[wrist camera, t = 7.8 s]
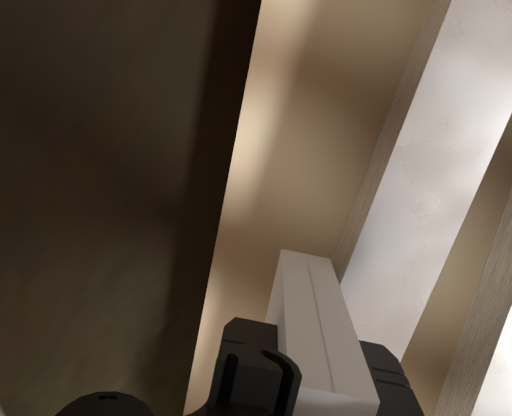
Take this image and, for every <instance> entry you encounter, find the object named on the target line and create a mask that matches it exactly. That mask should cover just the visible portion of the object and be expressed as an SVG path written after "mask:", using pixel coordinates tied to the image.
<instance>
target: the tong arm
mask: <svg viewBox="0 0 512 416" xmlns="http://www.w3.org/2000/svg"><path fill="white" fill-rule="evenodd" d="M511 113H512V0H431V1H430V3H429V6H428V9H427V11H426V14H425V16H424V19H423V22H422V24H421V27H420V30H419V32H418V35H417V37H416V40H415V43H414V45H413V48H412V51H411V53H410V56H409V58H408V61H407V64H406V66H405V69H404V72H403V74H402V77H401V79H400V82H399V85H398V87H397V90H396V93H395V95H394V98H393V100H392V103H391V106H390V108H389V111H388V114H387V116H386V119H385V121H384V124H383V127H382V129H381V132H380V135H379V137H378V140H377V142H376V145H375V148H374V150H373V153H372V156H371V158H370V161H369V163H368V166H367V169H366V171H365V174H364V177H363V179H362V182H361V184H360V187H359V190H358V192H357V195H356V198H355V200H354V203H353V205H352V208H351V211H350V213H349V216H348V219H347V221H346V224H345V226H344V229H343V232H342V234H341V237H340V240H339V242H338V245H337V247H336V250H335V253H334V255H333V258H332V261H331V263H332V266H333V269H334V272H335V274H336V277H337V280H338V283H339V286H340V289H341V292H342V294H343V297H344V300H345V303H346V306H347V309H348V312H349V314H350V317H351V320H352V323H353V326H354V329H355V332H356V334H357V337H358V340H361V341H366V342H371V343H376V344H381V345H384V346H385V347H386V348H387V349H388V350H389V351H390V352H391V353H392V354H393V355H394V356H395V357H396V358H397V359H398V360H399V362H401V359H402V357H403V355H404V353H405V350H406V348H407V346H408V344H409V341H410V339H411V337H412V335H413V332H414V330H415V328H416V326H417V324H418V321H419V319H420V317H421V315H422V312H423V310H424V308H425V306H426V303H427V301H428V299H429V297H430V294H431V292H432V290H433V288H434V286H435V283H436V281H437V279H438V277H439V274H440V272H441V270H442V268H443V265H444V263H445V261H446V259H447V256H448V254H449V252H450V250H451V248H452V245H453V243H454V241H455V239H456V236H457V234H458V232H459V230H460V227H461V225H462V223H463V221H464V218H465V216H466V214H467V212H468V209H469V207H470V205H471V203H472V201H473V198H474V196H475V194H476V192H477V189H478V187H479V185H480V183H481V180H482V178H483V176H484V174H485V171H486V169H487V167H488V165H489V163H490V160H491V158H492V156H493V154H494V151H495V149H496V147H497V145H498V142H499V140H500V138H501V136H502V133H503V131H504V129H505V127H506V125H507V122H508V120H509V118H510V116H511Z"/></svg>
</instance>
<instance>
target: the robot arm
mask: <svg viewBox="0 0 512 416" xmlns="http://www.w3.org/2000/svg"><path fill="white" fill-rule="evenodd" d="M410 386H411V385H410V383H409V381H408V379H407V377H406V376H405V373H404V371H403V369H402V367H401V364H400V362H399V360H398V359H397V358H396V357H395V356H394V355H393V354H392V353H391V352H390V351H389V350H388V349H387V348H386V347H385V346H384V345H381V344H376V343H371V342H366V341H361V340H358V337H357V334H356V332H355V329H354V326H353V323H352V320H351V317H350V314H349V312H348V309H347V306H346V303H345V300H344V297H343V294H342V292H341V289H340V286H339V283H338V280H337V277H336V274H335V272H334V269H333V266H332V263H331V260H330V259H329V258H324V257H319V256H314V255H309V254H304V253H300V252H295V251H290V250H285V249H281V252H280V257H279V261H278V266H277V270H276V275H275V279H274V283H273V288H272V292H271V297H270V301H269V305H268V310H267V314H266V319H265V323H264V322H259V321H254V320H249V319H244V318H239V317H234V318H233V319H232V320H231V321H229V322H228V323H227V324H226V325H225V326H224V329H223V334H222V339H221V343H220V348H219V353H218V357H217V359H216V363H215V368H214V373H213V378H212V383H211V388H210V393H209V397H208V399H207V401H206V402H205V403H204V405H203V406H202V407H201V408H199V409H198V410H196V411H194V412H193V413H191V414H188V415H185V416H425V415H424V413H423V411H422V409H421V407H420V404H419V402H418V400H417V398H416V396H415V394H414V392H413V390H412V389H410ZM55 416H153V413H152V411H151V410H150V409H149V407H148V406H147V405H146V404H145V403H144V402H143V401H141V400H139V399H137V398H136V397H134V396H132V395H129V394H124V393H120V392H116V391H114V392H96V393H92V394H88V395H85V396H81V397H79V398H78V399H76V400H75V401H73V402H71V403H70V404H68V405H67V406H65V407H64V408H63V409H62V410H61V411H60V412H59V413H58V414H56V415H55Z"/></svg>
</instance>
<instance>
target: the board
mask: <svg viewBox="0 0 512 416" xmlns="http://www.w3.org/2000/svg"><path fill="white" fill-rule="evenodd" d="M430 1H431V0H262V2H261V7H260V12H259V18H258V23H257V28H256V33H255V39H254V44H253V49H252V55H251V60H250V65H249V70H248V76H247V81H246V86H245V91H244V97H243V102H242V107H241V112H240V118H239V123H238V128H237V133H236V139H235V144H234V149H233V154H232V160H231V165H230V170H229V176H228V181H227V186H226V191H225V197H224V202H223V207H222V212H221V218H220V223H219V228H218V233H217V239H216V244H215V249H214V254H213V260H212V265H211V270H210V275H209V281H208V286H207V291H206V296H205V302H204V307H203V312H202V318H201V323H200V328H199V333H198V339H197V344H196V349H195V354H194V360H193V365H192V370H191V375H190V381H189V386H188V391H187V396H186V402H185V407H184V412H183V416H185V415H188V414H191V413H193V412H194V411H196V410H198V409H199V408H201V407H202V406H203V405H204V403H205V402H206V401H207V399H208V397H209V393H210V388H211V383H212V378H213V373H214V368H215V363H216V359H217V357H218V353H219V348H220V343H221V339H222V334H223V329H224V326H225V325H226V324H227V323H228V322H229V321H231V320H232V319H233V318H234V317H239V318H244V319H249V320H254V321H259V322H264V323H265V319H266V314H267V310H268V305H269V301H270V297H271V292H272V288H273V283H274V279H275V275H276V270H277V266H278V261H279V257H280V252H281V249H285V250H290V251H295V252H300V253H304V254H309V255H314V256H319V257H324V258H329V259H330V260H331V261H332V258H333V255H334V253H335V250H336V247H337V245H338V242H339V240H340V237H341V234H342V232H343V229H344V226H345V224H346V221H347V219H348V216H349V213H350V211H351V208H352V205H353V203H354V200H355V198H356V195H357V192H358V190H359V187H360V184H361V182H362V179H363V177H364V174H365V171H366V169H367V166H368V163H369V161H370V158H371V156H372V153H373V150H374V148H375V145H376V142H377V140H378V137H379V135H380V132H381V129H382V127H383V124H384V121H385V119H386V116H387V114H388V111H389V108H390V106H391V103H392V100H393V98H394V95H395V93H396V90H397V87H398V85H399V82H400V79H401V77H402V74H403V72H404V69H405V66H406V64H407V61H408V58H409V56H410V53H411V51H412V48H413V45H414V43H415V40H416V37H417V35H418V32H419V30H420V27H421V24H422V22H423V19H424V16H425V14H426V11H427V9H428V6H429V3H430ZM511 187H512V113H511V116H510V118H509V120H508V122H507V125H506V127H505V129H504V131H503V133H502V136H501V138H500V140H499V142H498V145H497V147H496V149H495V151H494V154H493V156H492V158H491V160H490V163H489V165H488V167H487V169H486V171H485V174H484V176H483V178H482V180H481V183H480V185H479V187H478V189H477V192H476V194H475V196H474V198H473V201H472V203H471V205H470V207H469V209H468V212H467V214H466V216H465V218H464V221H463V223H462V225H461V227H460V230H459V232H458V234H457V236H456V239H455V241H454V243H453V245H452V248H451V250H450V252H449V254H448V256H447V259H446V261H445V263H444V265H443V268H442V270H441V272H440V274H439V277H438V279H437V281H436V283H435V286H434V288H433V290H432V292H431V294H430V297H429V299H428V301H427V303H426V306H425V308H424V310H423V312H422V315H421V317H420V319H419V321H418V324H417V326H416V328H415V330H414V332H413V335H412V337H411V339H410V341H409V344H408V346H407V348H406V350H405V353H404V355H403V357H402V359H401V362H400V364H401V367H402V369H403V371H404V373H405V376H406V377H407V379H408V381H409V383H410V385H411V386H410V389H412V390H413V392H414V394H415V396H416V398H417V400H418V402H419V404H420V407H421V409H422V411H423V413H424V415H425V416H433V413H434V410H435V407H436V404H437V401H438V398H439V395H440V393H441V390H442V387H443V384H444V381H445V378H446V375H447V372H448V369H449V367H450V364H451V361H452V358H453V355H454V352H455V349H456V346H457V343H458V340H459V338H460V335H461V332H462V329H463V326H464V323H465V320H466V317H467V314H468V312H469V309H470V306H471V303H472V300H473V297H474V294H475V291H476V288H477V286H478V283H479V280H480V277H481V274H482V271H483V268H484V265H485V262H486V259H487V257H488V254H489V251H490V248H491V245H492V242H493V239H494V236H495V233H496V231H497V228H498V225H499V222H500V219H501V216H502V213H503V210H504V207H505V204H506V202H507V199H508V196H509V193H510V190H511Z"/></svg>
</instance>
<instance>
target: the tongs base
mask: <svg viewBox="0 0 512 416" xmlns="http://www.w3.org/2000/svg"><path fill="white" fill-rule="evenodd" d="M433 416H512V187H511V190H510V193H509V196H508V199H507V202H506V204H505V207H504V210H503V213H502V216H501V219H500V222H499V225H498V228H497V231H496V233H495V236H494V239H493V242H492V245H491V248H490V251H489V254H488V257H487V259H486V262H485V265H484V268H483V271H482V274H481V277H480V280H479V283H478V286H477V288H476V291H475V294H474V297H473V300H472V303H471V306H470V309H469V312H468V314H467V317H466V320H465V323H464V326H463V329H462V332H461V335H460V338H459V340H458V343H457V346H456V349H455V352H454V355H453V358H452V361H451V364H450V367H449V369H448V372H447V375H446V378H445V381H444V384H443V387H442V390H441V393H440V395H439V398H438V401H437V404H436V407H435V410H434V413H433Z"/></svg>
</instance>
